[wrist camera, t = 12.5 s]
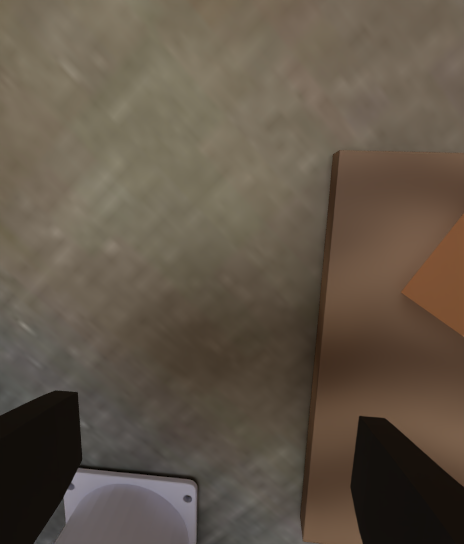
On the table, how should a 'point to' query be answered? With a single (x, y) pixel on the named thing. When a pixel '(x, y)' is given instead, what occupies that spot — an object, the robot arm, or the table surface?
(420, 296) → the terracotta cube
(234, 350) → the table surface
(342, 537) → the board
